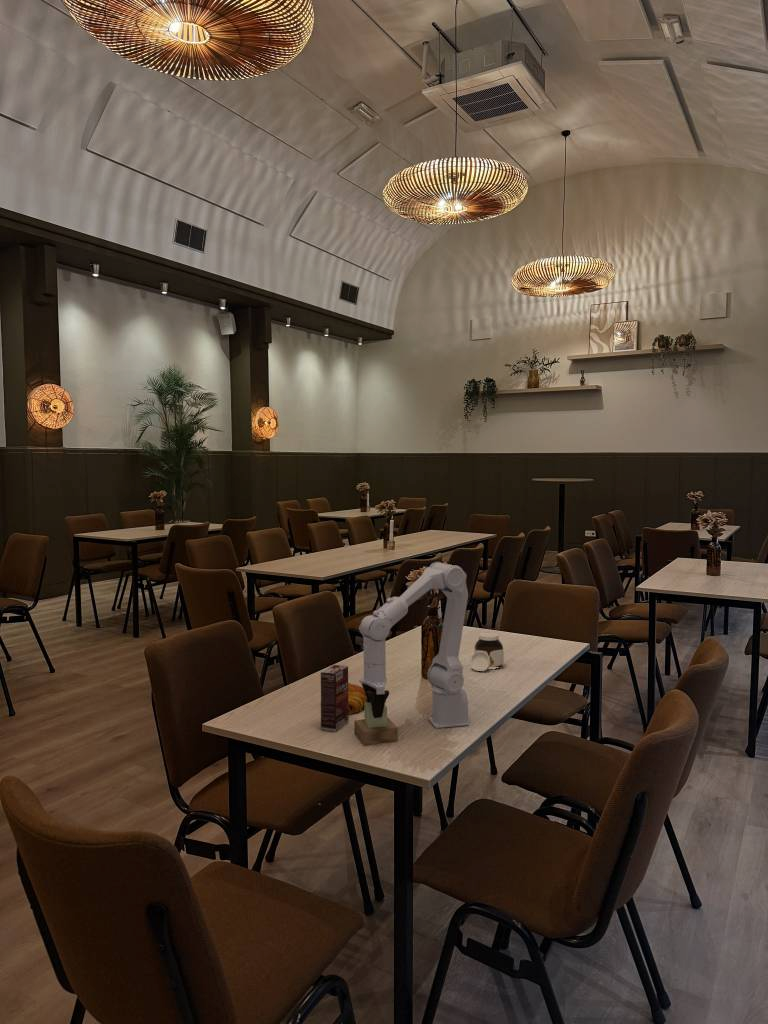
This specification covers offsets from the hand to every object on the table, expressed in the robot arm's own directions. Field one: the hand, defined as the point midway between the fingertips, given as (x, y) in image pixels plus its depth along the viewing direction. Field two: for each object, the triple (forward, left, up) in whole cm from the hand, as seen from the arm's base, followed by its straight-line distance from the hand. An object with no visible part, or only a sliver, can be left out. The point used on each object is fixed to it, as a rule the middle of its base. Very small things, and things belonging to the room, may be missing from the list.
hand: (375, 713), depth 188 cm
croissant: (+3, -26, -7) cm, 27 cm away
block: (0, 0, -7) cm, 7 cm away
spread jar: (-51, -54, -7) cm, 75 cm away
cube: (0, 0, -3) cm, 3 cm away
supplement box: (+9, -11, -7) cm, 16 cm away
